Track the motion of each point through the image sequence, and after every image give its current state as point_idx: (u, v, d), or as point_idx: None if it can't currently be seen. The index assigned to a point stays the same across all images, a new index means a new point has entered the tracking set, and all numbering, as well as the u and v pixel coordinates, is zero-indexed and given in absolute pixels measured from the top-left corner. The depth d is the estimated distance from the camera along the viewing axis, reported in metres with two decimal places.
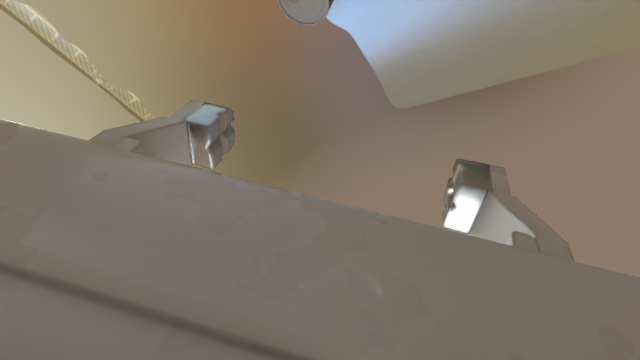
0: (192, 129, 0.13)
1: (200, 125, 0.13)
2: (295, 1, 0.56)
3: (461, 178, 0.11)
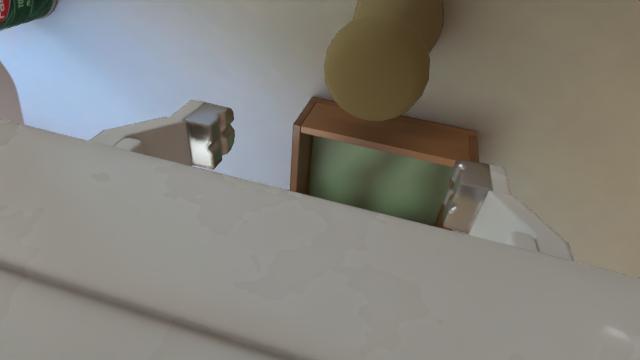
0: (192, 129, 0.13)
1: (200, 125, 0.13)
2: None
3: (461, 178, 0.11)
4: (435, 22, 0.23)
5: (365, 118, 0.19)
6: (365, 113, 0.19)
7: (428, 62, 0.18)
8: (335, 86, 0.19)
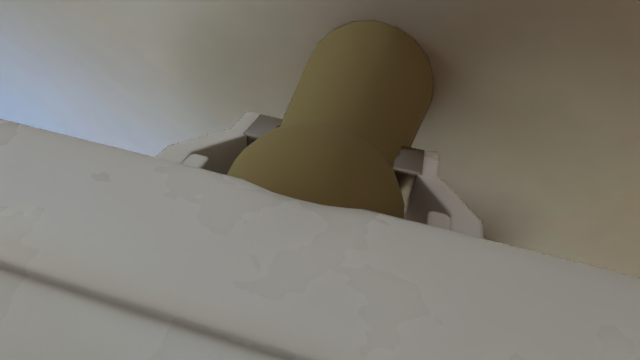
0: None
1: None
2: None
3: (393, 163, 0.12)
4: (419, 103, 0.15)
5: None
6: None
7: None
8: None
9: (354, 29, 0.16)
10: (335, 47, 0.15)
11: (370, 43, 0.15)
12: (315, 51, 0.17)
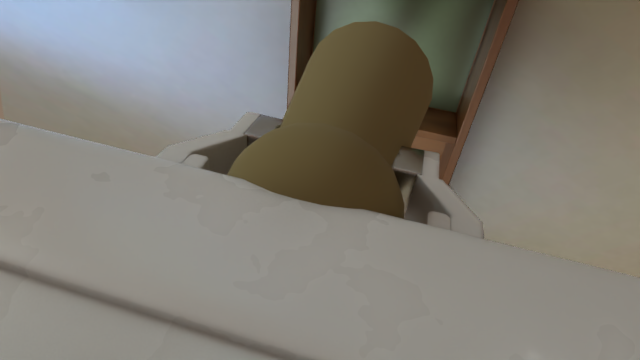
0: None
1: None
2: None
3: (393, 163, 0.12)
4: (419, 104, 0.15)
5: None
6: None
7: None
8: None
9: (354, 29, 0.16)
10: (335, 48, 0.15)
11: (370, 44, 0.15)
12: (315, 51, 0.17)
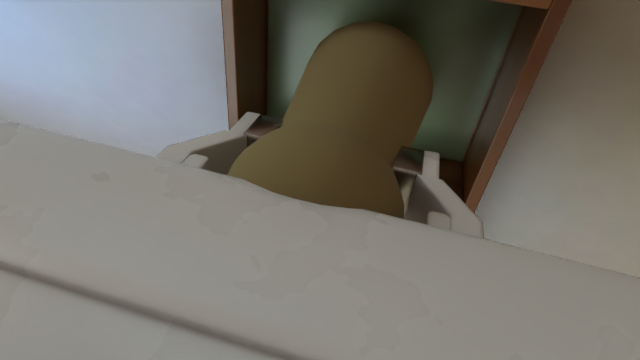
0: (252, 143, 0.12)
1: None
2: None
3: (393, 163, 0.12)
4: (419, 104, 0.15)
5: None
6: None
7: None
8: None
9: (354, 30, 0.16)
10: (335, 48, 0.15)
11: (370, 44, 0.15)
12: (315, 52, 0.17)
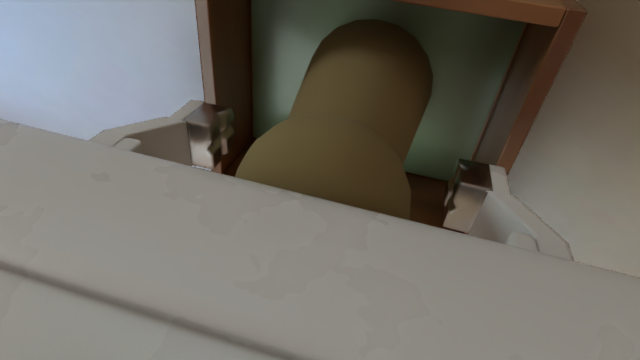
0: (192, 129, 0.13)
1: (200, 125, 0.13)
2: None
3: (461, 178, 0.11)
4: (421, 98, 0.15)
5: None
6: None
7: (408, 204, 0.10)
8: None
9: (357, 27, 0.16)
10: (339, 44, 0.16)
11: (373, 40, 0.15)
12: (319, 48, 0.17)
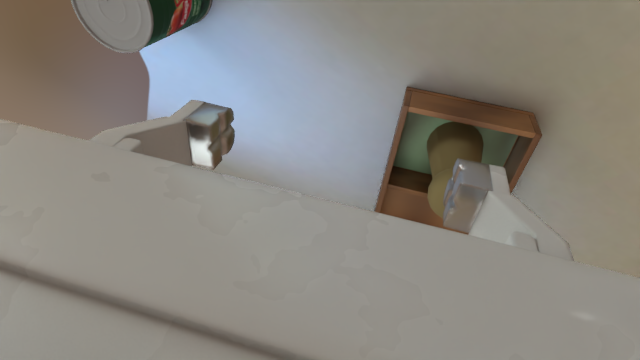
0: (192, 129, 0.13)
1: (200, 125, 0.13)
2: None
3: (461, 178, 0.11)
4: (481, 156, 0.40)
5: None
6: None
7: None
8: (436, 205, 0.35)
9: (454, 125, 0.41)
10: (450, 134, 0.40)
11: (463, 133, 0.40)
12: (437, 132, 0.42)
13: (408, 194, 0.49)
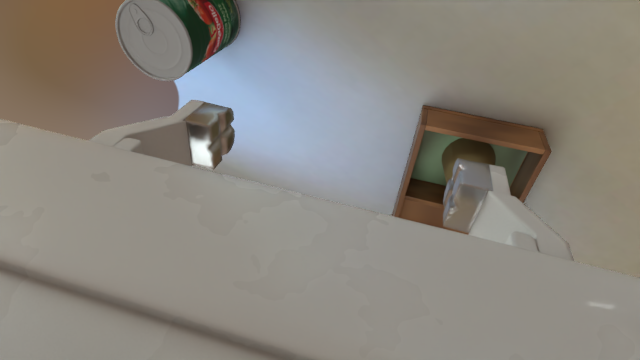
0: (192, 129, 0.13)
1: (200, 125, 0.13)
2: (143, 32, 0.36)
3: (461, 178, 0.11)
4: None
5: None
6: None
7: None
8: None
9: (468, 141, 0.44)
10: (464, 150, 0.43)
11: (477, 149, 0.43)
12: (452, 148, 0.44)
13: (423, 204, 0.52)
